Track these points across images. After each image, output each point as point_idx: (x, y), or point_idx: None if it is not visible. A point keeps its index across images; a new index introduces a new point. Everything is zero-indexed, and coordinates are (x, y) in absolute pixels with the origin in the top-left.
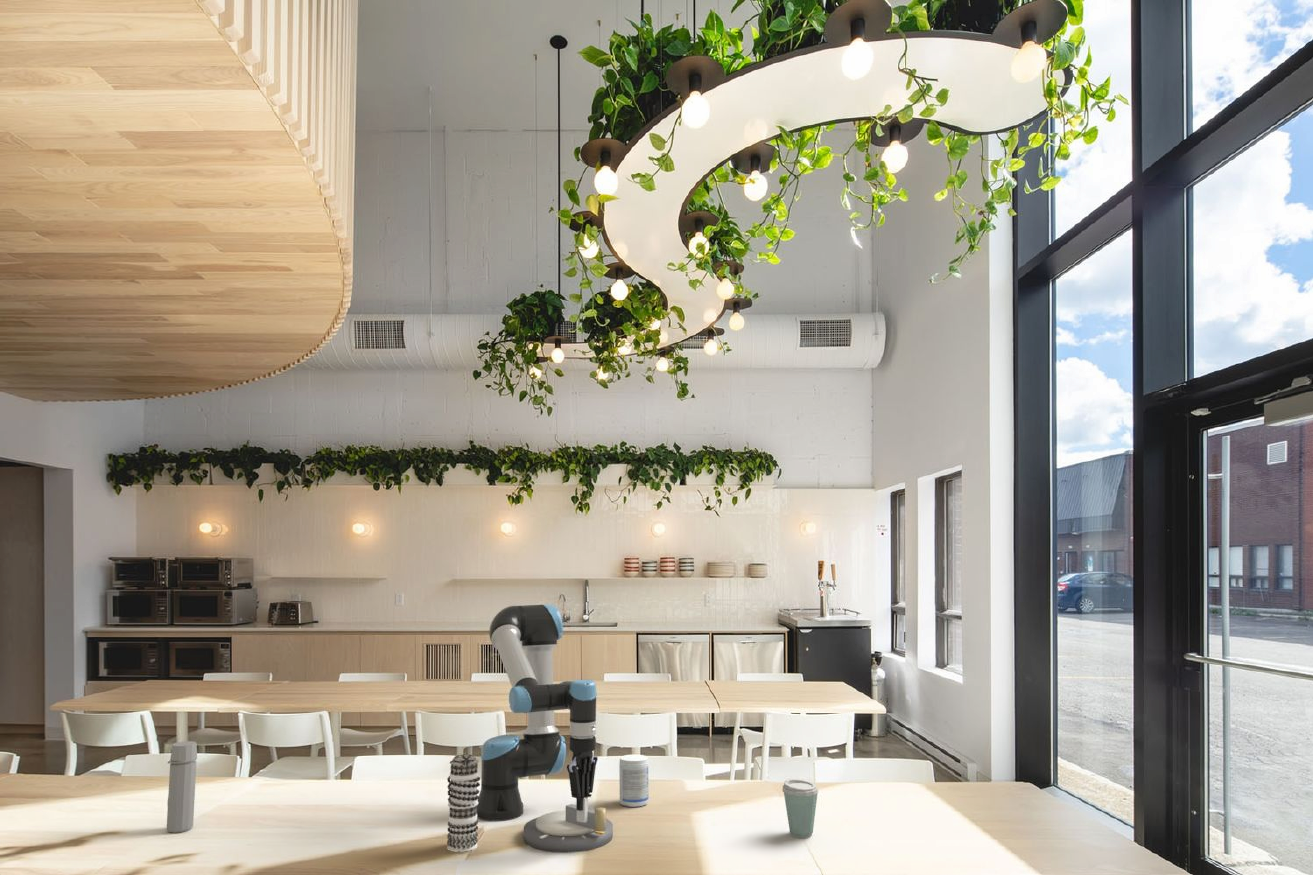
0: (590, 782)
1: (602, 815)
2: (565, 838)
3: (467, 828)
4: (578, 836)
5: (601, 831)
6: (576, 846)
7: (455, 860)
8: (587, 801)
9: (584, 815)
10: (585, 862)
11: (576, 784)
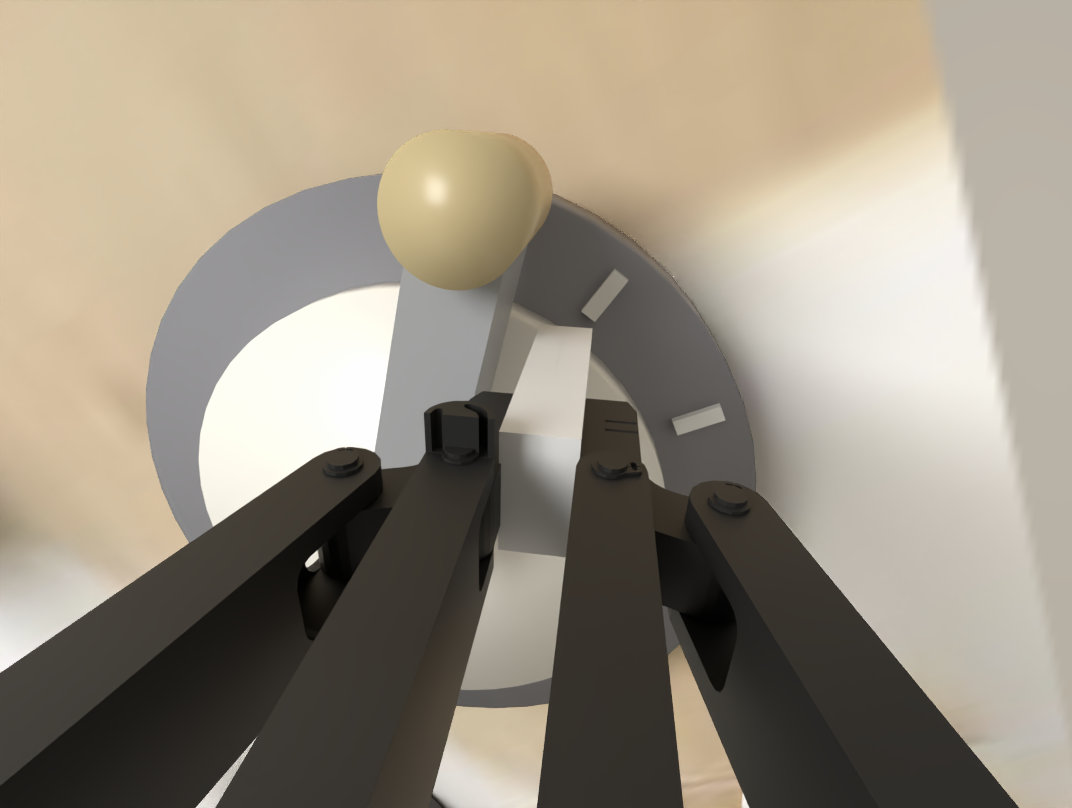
0: (280, 575)
1: (507, 147)
2: (677, 408)
3: None
4: (598, 344)
5: (537, 153)
6: (687, 300)
7: (1008, 768)
8: (510, 405)
9: (588, 353)
10: (890, 103)
11: (938, 740)
